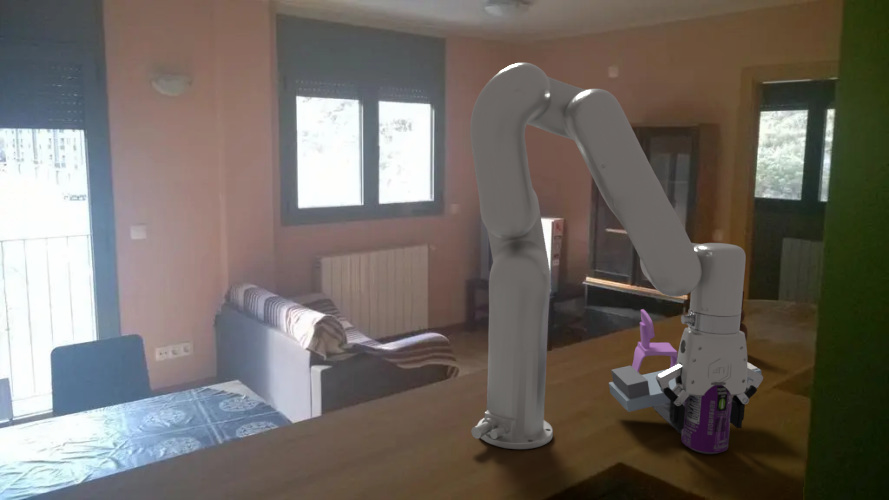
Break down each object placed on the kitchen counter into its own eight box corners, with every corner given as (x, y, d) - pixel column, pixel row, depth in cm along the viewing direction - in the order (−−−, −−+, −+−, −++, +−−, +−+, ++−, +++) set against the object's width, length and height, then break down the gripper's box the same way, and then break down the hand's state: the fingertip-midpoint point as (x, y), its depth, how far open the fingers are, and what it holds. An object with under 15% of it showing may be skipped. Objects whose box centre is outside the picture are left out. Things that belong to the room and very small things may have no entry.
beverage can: (731, 459, 108) (738, 385, 106) (684, 454, 109) (689, 381, 108) (723, 440, 115) (729, 371, 113) (678, 436, 116) (683, 367, 114)
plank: (628, 411, 117) (624, 387, 116) (610, 392, 126) (606, 369, 125) (762, 381, 119) (759, 356, 118) (735, 364, 128) (732, 341, 127)
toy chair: (680, 389, 139) (685, 316, 137) (635, 387, 139) (640, 314, 137) (668, 375, 147) (673, 306, 145) (626, 373, 147) (630, 305, 145)
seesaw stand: (681, 435, 117) (683, 403, 116) (650, 405, 130) (652, 377, 129) (715, 434, 117) (718, 402, 116) (681, 405, 130) (683, 376, 129)
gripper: (671, 329, 104) (663, 437, 107) (779, 328, 106) (769, 433, 109) (651, 316, 112) (644, 417, 114) (753, 315, 114) (744, 415, 116)
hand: (705, 425), depth 112 cm, fingers open, 9 cm apart
